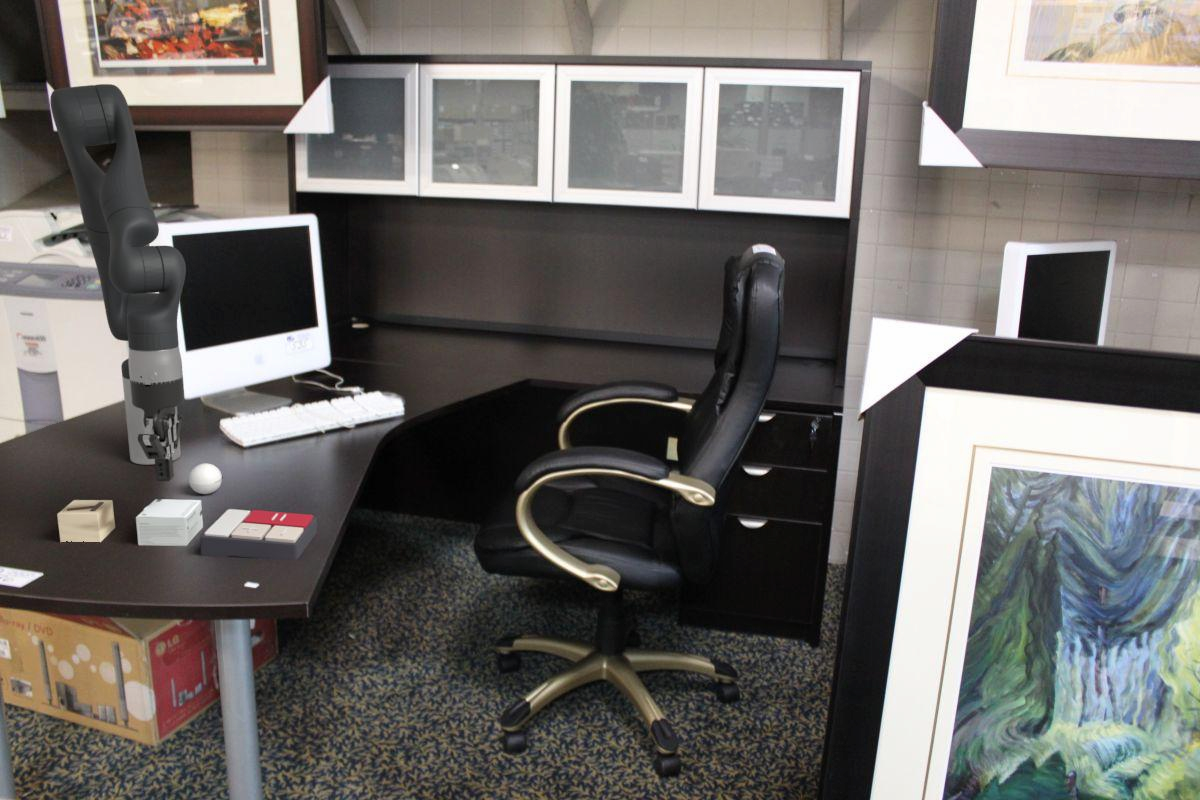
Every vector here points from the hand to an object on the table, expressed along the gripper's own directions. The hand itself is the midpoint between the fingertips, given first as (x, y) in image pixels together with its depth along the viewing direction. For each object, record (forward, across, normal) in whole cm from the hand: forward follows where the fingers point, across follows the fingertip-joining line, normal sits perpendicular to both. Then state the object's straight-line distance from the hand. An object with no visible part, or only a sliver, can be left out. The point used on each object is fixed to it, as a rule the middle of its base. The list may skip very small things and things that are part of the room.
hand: (165, 479), depth 151 cm
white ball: (+10, -20, 0) cm, 23 cm away
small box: (+10, 0, 0) cm, 10 cm away
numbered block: (+10, 0, -13) cm, 16 cm away
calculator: (+10, +3, +15) cm, 19 cm away
